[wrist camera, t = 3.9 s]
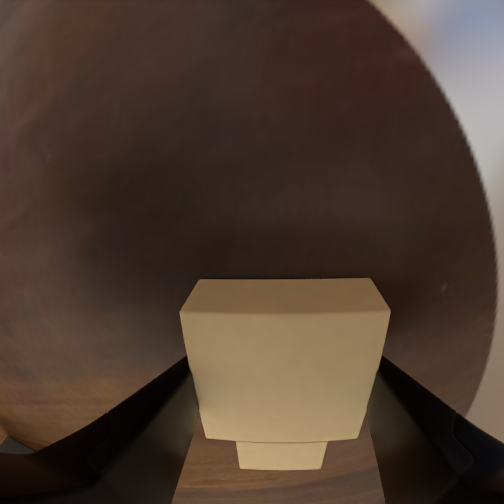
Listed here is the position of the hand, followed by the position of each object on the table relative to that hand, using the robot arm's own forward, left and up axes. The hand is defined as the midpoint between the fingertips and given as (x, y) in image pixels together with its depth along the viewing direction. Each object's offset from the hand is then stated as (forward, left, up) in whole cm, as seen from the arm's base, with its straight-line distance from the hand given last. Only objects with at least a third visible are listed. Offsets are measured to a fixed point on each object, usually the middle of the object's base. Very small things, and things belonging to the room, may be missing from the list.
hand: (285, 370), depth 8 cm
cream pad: (0, 0, -1) cm, 1 cm away
